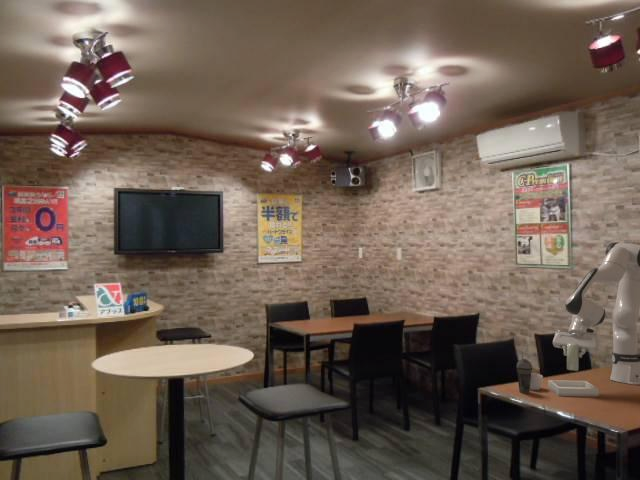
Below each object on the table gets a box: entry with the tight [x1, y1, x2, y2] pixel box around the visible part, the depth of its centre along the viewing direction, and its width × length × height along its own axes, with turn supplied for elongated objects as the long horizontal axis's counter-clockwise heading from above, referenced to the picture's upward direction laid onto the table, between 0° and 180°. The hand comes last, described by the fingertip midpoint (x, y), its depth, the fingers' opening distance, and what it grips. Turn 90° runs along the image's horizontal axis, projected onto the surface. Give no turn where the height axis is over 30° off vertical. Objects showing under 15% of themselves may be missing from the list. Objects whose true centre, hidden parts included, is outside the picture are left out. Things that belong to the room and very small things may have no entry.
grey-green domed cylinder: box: [566, 343, 580, 371], centre depth 262 cm, size 5×5×12 cm
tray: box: [547, 379, 600, 398], centre depth 262 cm, size 18×16×4 cm
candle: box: [530, 372, 544, 391], centre depth 269 cm, size 9×9×6 cm
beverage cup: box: [516, 349, 533, 394], centre depth 262 cm, size 7×7×20 cm
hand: (572, 355), depth 262 cm, fingers closed on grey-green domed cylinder, 5 cm apart
